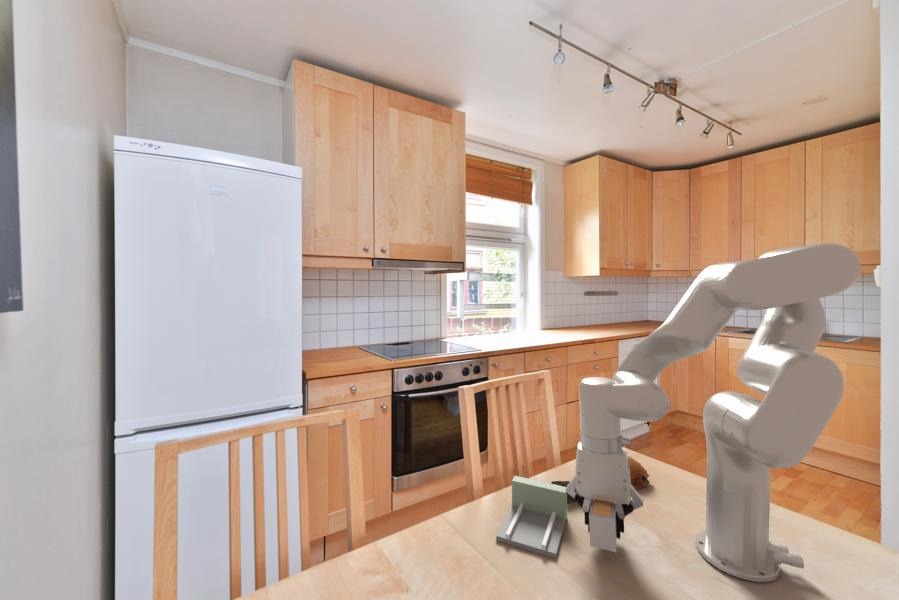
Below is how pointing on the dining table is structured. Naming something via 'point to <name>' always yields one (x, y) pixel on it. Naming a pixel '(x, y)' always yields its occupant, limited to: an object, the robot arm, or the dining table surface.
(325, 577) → the dining table surface
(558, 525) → the chute mount
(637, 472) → the bread roll
